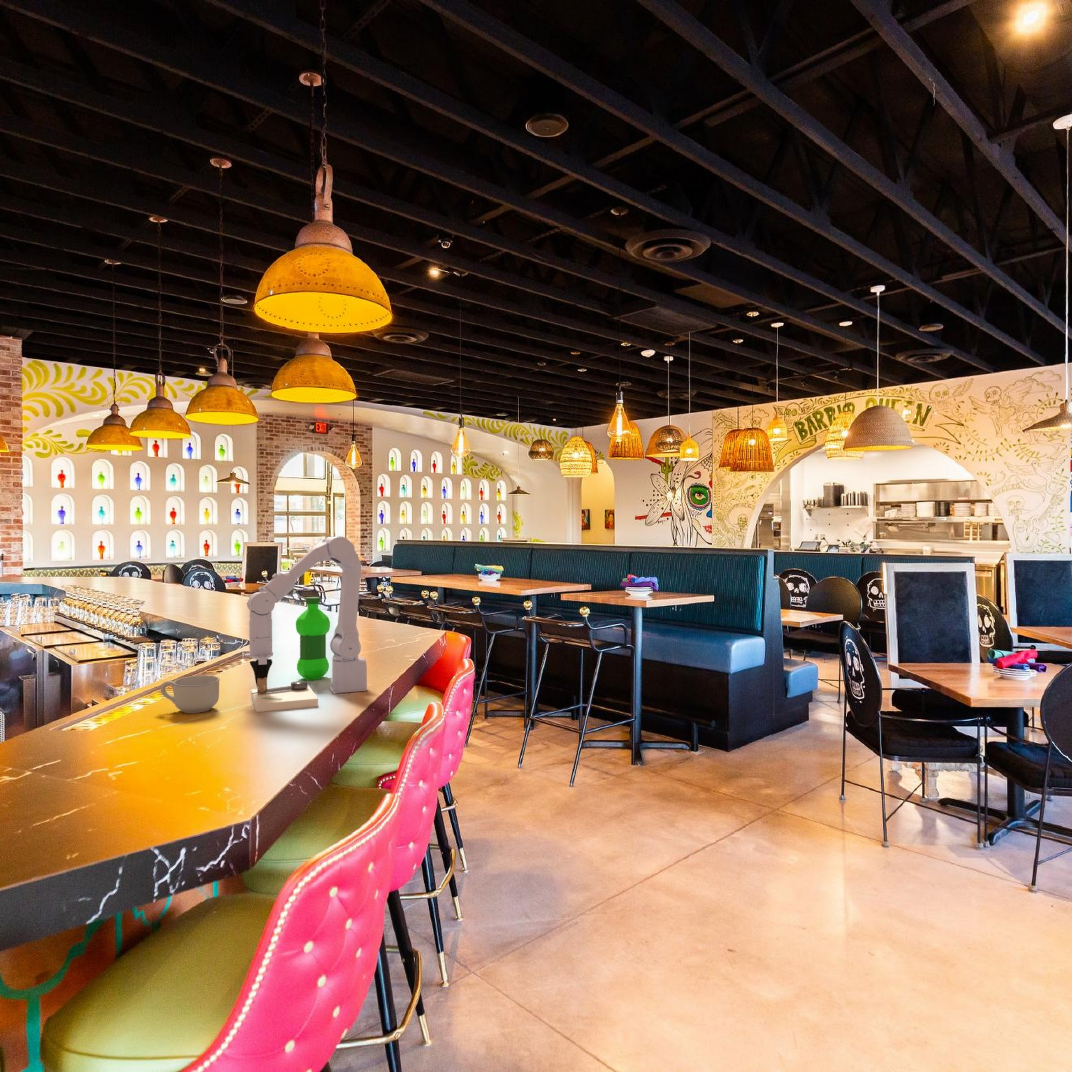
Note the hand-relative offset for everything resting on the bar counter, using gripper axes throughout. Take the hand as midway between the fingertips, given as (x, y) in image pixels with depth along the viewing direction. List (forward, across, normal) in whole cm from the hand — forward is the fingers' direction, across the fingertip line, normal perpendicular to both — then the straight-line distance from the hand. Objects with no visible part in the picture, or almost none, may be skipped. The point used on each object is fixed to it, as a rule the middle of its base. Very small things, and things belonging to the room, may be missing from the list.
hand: (261, 687), depth 197 cm
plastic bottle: (+4, -25, +17) cm, 30 cm away
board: (+3, +5, +5) cm, 8 cm away
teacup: (+3, +5, -17) cm, 18 cm away
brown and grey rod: (+1, +1, +5) cm, 5 cm away
